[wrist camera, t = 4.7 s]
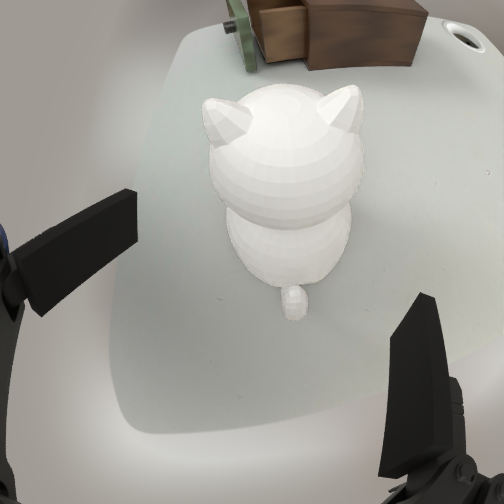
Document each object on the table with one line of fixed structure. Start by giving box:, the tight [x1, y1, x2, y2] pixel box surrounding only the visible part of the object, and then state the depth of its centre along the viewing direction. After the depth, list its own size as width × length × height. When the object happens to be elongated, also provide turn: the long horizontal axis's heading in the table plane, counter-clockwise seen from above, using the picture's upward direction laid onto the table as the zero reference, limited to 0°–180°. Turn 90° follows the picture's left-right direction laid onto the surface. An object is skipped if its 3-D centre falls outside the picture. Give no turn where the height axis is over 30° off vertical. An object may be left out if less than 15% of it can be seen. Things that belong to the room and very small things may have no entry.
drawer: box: [223, 0, 308, 72], centre depth 26 cm, size 15×10×8 cm
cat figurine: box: [202, 84, 365, 321], centre depth 17 cm, size 9×12×15 cm
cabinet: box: [301, 0, 429, 71], centre depth 26 cm, size 15×12×10 cm
